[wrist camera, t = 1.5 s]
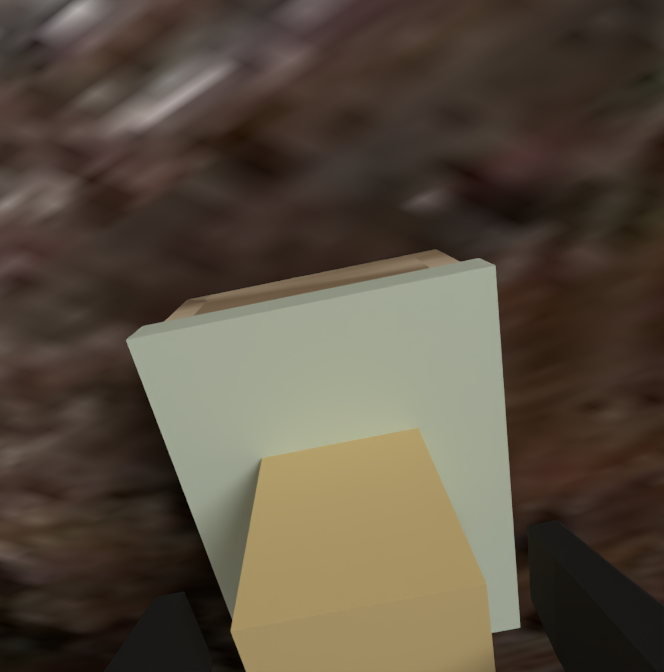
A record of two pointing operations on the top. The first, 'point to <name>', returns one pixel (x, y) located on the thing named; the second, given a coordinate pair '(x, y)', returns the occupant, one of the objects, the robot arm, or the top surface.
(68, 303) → the top surface
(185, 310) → the box
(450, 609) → the lid
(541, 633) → the top surface
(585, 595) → the robot arm
